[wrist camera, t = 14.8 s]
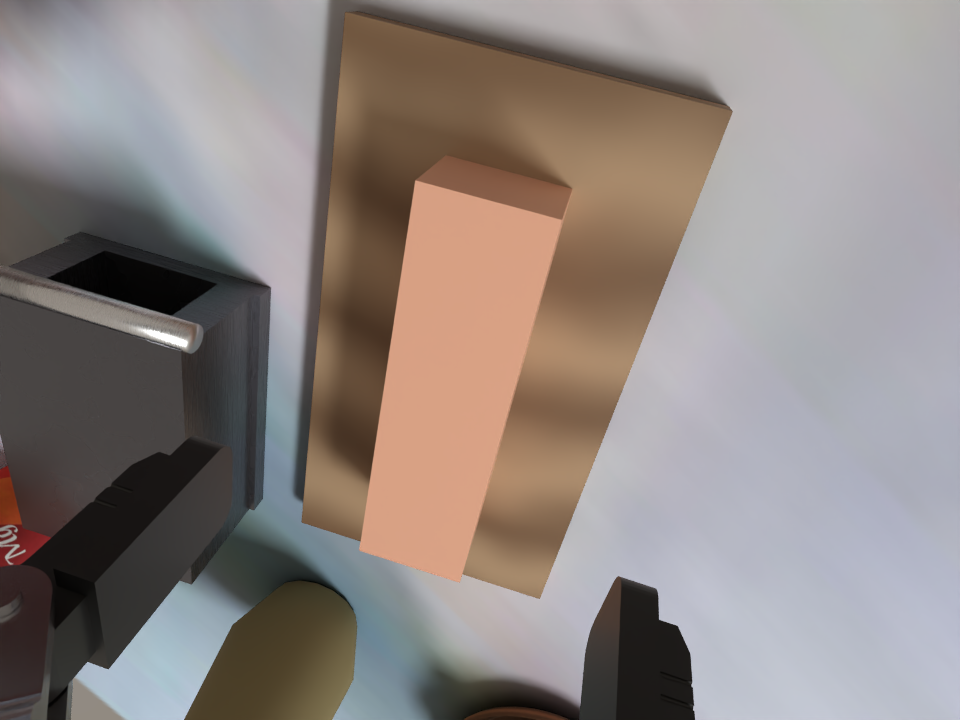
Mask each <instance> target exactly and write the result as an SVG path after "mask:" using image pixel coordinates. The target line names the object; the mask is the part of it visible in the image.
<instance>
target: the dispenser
mask: <svg viewBox="0 0 960 720" xmlns="http://www.w3.org/2000/svg"><path fill="white" fill-rule="evenodd" d="M270 296H271V288H269V287H266V286H262V285H259V284H255V283H252V282H249V281H245V280H242V279H238V278H235V277H232V276H228V275H225V274H221V273H218V272H215V271H211V270H208V269H204V268H201V267H197V266H194V265H191V264H187V263H184V262H180V261H177V260H174V259H170V258H167V257H163V256H160V255H157V254H153V253H150V252H146V251H143V250H139V249H136V248H133V247H129V246H126V245H122V244H119V243H116V242H112V241H109V240H105V239H102V238H99V237H95V236H92V235H88V234H85V233H82V232H79V233H77V234H74V235H72V236H69V237H67V238H65V243H63V244H60V245H58V246H56V247H53V248H51V249H49V250H46V251H44V252H42V253H39V254H37V255H34V256H32V257H30V258H27V259H25V260H23V261H20V262H18V263H16V264H13V265H11V266H9V267H6V266H3V265H0V435H1V439H2V443H3V447H4V451H5V455H6V460H7V464H8V468H9V472H10V476H11V481H12V485H13V489H14V493H15V497H16V501H17V506H18V510H19V514H20V518H21V522H22V526H23V528H24V529H27V530H30V531H33V532H36V533H39V534H42V535H45V536H48V537H51V538H52V537H53V536H54V535H55V534H56V533H57V532H58V531H59V530H60V529H61V528H63V527H64V526H65V525H66V524H67V523H68V522H69V521H70V520H71V519H72V518H74V517H75V516H76V515H77V514H78V513H79V512H80V511H81V510H82V509H83V508H85V507H86V506H87V505H88V504H89V503H90V502H92V503H93V502H94V500H95V498H96V497H97V496H98V495H99V494H100V493H101V492H102V491H103V490H104V489H105V488H107V487H110V486H111V484H112V482H113V481H114V480H115V479H116V478H118V477H119V476H120V475H121V474H122V473H123V472H124V471H125V470H126V469H128V468H129V467H130V466H131V465H132V464H134V463H136V462H138V461H140V460H143V459H145V458H147V457H149V456H151V455H153V454H155V453H157V452H161V453H164V454H167V455H171V454H172V453H173V452H174V451H175V450H176V449H177V448H178V447H179V446H180V445H181V444H182V443H183V442H184V441H186V440H187V439H188V438H189V437H191V436H198V437H201V438H205V439H208V440H211V441H214V442H217V443H220V444H223V445H226V446H229V447H230V448H231V449H232V455H233V457H232V503H231V508H230V511H229V514H228V516H227V518H226V521H225V522H224V524H223V526H222V527H221V529H220V530H219V532H218V533H217V534H216V535H215V537H214V538H213V539H212V540H211V542H210V543H209V544H208V545H207V547H206V548H205V549H204V550H203V552H202V553H201V554H200V555H199V557H198V558H197V559H196V560H195V562H194V563H193V564H192V565H191V567H190V568H189V569H188V570H187V572H186V573H185V574H184V575H183V577H182V578H181V579H180V581H183V582H186V583H189V584H192V583H193V582H194V581H195V579H196V578H197V577H198V575H199V574H200V573H201V572H202V570H203V569H204V568H205V566H206V565H207V564H208V562H209V561H210V560H211V558H212V557H213V556H214V554H215V553H216V552H217V550H218V549H219V548H220V547H221V545H222V544H223V543H224V541H225V540H226V539H227V537H228V536H229V535H230V533H231V532H232V531H233V529H234V528H235V527H236V526H237V524H238V523H239V522H240V520H241V519H242V518H243V516H244V515H245V514H246V512H247V511H248V510H249V509H251V510H255V508H256V507H257V506H258V504H259V503H260V502H261V500H262V499H263V477H264V451H265V425H266V399H267V374H268V348H269V322H270Z"/></svg>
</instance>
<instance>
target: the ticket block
mask: <svg viewBox="0 0 960 720" xmlns="http://www.w3.org/2000/svg"><path fill="white" fill-rule="evenodd" d="M571 193H572V189H571V188H567V187H564V186H560V185H556V184H552V183H549V182H545V181H541V180H537V179H534V178H530V177H526V176H522V175H519V174H515V173H511V172H507V171H504V170H500V169H496V168H492V167H489V166H485V165H481V164H477V163H474V162H470V161H466V160H462V159H459V158H455V157H451V156H447V155H446V156H444V157H443V158H442V159H441V160H440V161H438V162H437V163H436V164H435V165H433V166H432V167H431V168H430V169H429V170H427V171H426V172H425V173H424V174H422V175H421V176H420V177H419V178H418V179H416V180H415V186H414V192H413V199H412V206H411V212H410V219H409V225H408V232H407V239H406V245H405V252H404V259H403V265H402V272H401V278H400V285H399V292H398V298H397V305H396V311H395V318H394V325H393V331H392V338H391V344H390V351H389V358H388V364H387V371H386V377H385V384H384V391H383V397H382V404H381V411H380V417H379V424H378V430H377V437H376V444H375V450H374V457H373V463H372V470H371V477H370V483H369V490H368V496H367V503H366V510H365V516H364V523H363V530H362V536H361V543H360V549H359V551H363V552H366V553H369V554H372V555H375V556H378V557H381V558H384V559H388V560H391V561H394V562H397V563H400V564H403V565H406V566H409V567H413V568H416V569H419V570H422V571H425V572H428V573H431V574H434V575H438V576H441V577H444V578H447V579H450V580H453V581H456V582H459V583H460V580H461V577H462V574H463V570H464V567H465V564H466V560H467V557H468V554H469V551H470V547H471V544H472V541H473V537H474V534H475V531H476V527H477V524H478V521H479V517H480V514H481V510H482V507H483V503H484V500H485V496H486V492H487V489H488V485H489V482H490V478H491V475H492V471H493V468H494V464H495V461H496V457H497V454H498V450H499V447H500V443H501V440H502V436H503V433H504V429H505V426H506V422H507V418H508V415H509V411H510V408H511V404H512V401H513V397H514V394H515V390H516V387H517V383H518V380H519V376H520V373H521V369H522V366H523V362H524V359H525V355H526V351H527V348H528V344H529V341H530V337H531V334H532V330H533V327H534V323H535V320H536V316H537V313H538V309H539V306H540V302H541V299H542V295H543V292H544V288H545V284H546V281H547V277H548V274H549V270H550V267H551V263H552V260H553V256H554V253H555V249H556V246H557V242H558V239H559V235H560V232H561V228H562V225H563V221H564V217H565V214H566V210H567V207H568V203H569V200H570V196H571Z"/></svg>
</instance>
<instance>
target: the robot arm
mask: <svg viewBox="0 0 960 720" xmlns="http://www.w3.org/2000/svg"><path fill="white" fill-rule="evenodd" d="M232 457H233V455H232V449H231V448H230V447H229V446H226V445H223V444H220V443H217V442H214V441H211V440H208V439H205V438H201V437H198V436H191V437H189V438H188V439H187V440H186V441H184V442H183V443H182V444H181V445H180V446H179V447H178V448H177V449H176V450H175V451H174V452H173V453H172V454H171V455H167V454H164V453H161V452H157V453H155V454H153V455H151V456H149V457H147V458H145V459H143V460H140V461H138V462H136V463H134V464H132V465H131V466H130V467H129V468H128V469H126V470H125V471H124V472H123V473H122V474H121V475H120V476H119V477H118V478H116V479H115V480H114V481H113V482H112V484H111V486H110V487H107V488H105V489H104V490H103V491H102V492H101V493H100V494H99V495H98V496H97V497H96V498H95V500H94V502H93V503H92V502H90V503H89V504H88V505H87V506H86V507H85V508H83V509H82V510H81V511H80V512H79V513H78V514H77V515H76V516H75V517H74V518H72V519H71V520H70V521H69V522H68V523H67V524H66V525H65V526H64V527H63V528H61V529H60V530H59V531H58V532H57V533H56V534H55V535H54V536H53V537H52V538H50V539H49V540H48V541H47V542H46V543H45V544H44V545H43V546H42V547H41V548H39V549H38V550H37V551H36V552H35V553H34V554H33V555H32V556H31V557H29V558H28V559H27V560H26V561H25V562H23V563H22V564H20V565H8V566H3V567H0V720H71V704H72V689H73V683H72V679H73V678H74V677H75V676H76V675H77V673H78V672H79V671H80V670H81V669H82V667H83V666H84V665H85V664H86V663H87V662H90V663H92V664H95V665H98V666H101V667H103V668H106V669H109V668H110V667H111V665H112V664H113V663H114V662H115V660H116V659H117V658H118V657H119V655H120V654H121V653H122V652H123V650H124V649H125V648H126V647H127V645H128V644H129V643H130V642H131V640H132V639H133V638H134V637H135V635H136V634H137V633H138V632H139V630H140V629H141V628H142V627H143V625H144V624H145V623H146V622H147V620H148V619H149V618H150V617H151V615H152V614H153V613H154V612H155V610H156V609H157V608H158V607H159V605H160V604H161V603H162V602H163V600H164V599H165V598H166V597H167V595H168V594H169V593H170V592H171V590H172V589H173V588H174V587H175V585H176V584H177V583H178V582H179V580H180V579H181V578H182V577H183V575H184V574H185V573H186V572H187V570H188V569H189V568H190V567H191V565H192V564H193V563H194V562H195V560H196V559H197V558H198V557H199V555H200V554H201V553H202V552H203V550H204V549H205V548H206V547H207V545H208V544H209V543H210V542H211V540H212V539H213V538H214V537H215V535H216V534H217V533H218V532H219V530H220V529H221V527H222V526H223V524H224V522H225V521H226V518H227V516H228V514H229V511H230V508H231V503H232ZM691 684H692V671H691V657H690V652H689V650H688V648H687V646H686V643H685V641H684V639H683V637H682V635H681V632H680V630H679V628H678V626H676V625H673V624H670V623H667V622H664V621H661V620H659V607H658V592H657V590H656V589H655V588H652V587H649V586H646V585H643V584H640V583H637V582H634V581H631V580H628V579H625V578H622V577H619V576H618V577H617V578H616V579H615V581H614V583H613V585H612V587H611V589H610V591H609V593H608V595H607V597H606V599H605V601H604V603H603V605H602V607H601V609H600V611H599V613H598V615H597V617H596V619H595V621H594V623H593V626H592V628H591V631H590V634H589V638H588V642H587V647H586V653H585V661H584V673H583V684H582V695H581V706H580V717H579V720H695V714H694V711H693V706H694V700H693V688H692V687H691Z"/></svg>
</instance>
